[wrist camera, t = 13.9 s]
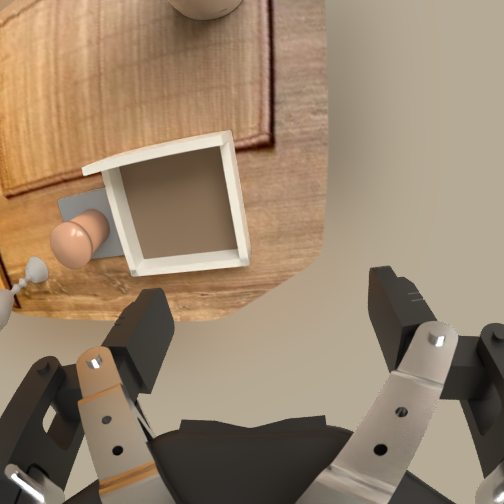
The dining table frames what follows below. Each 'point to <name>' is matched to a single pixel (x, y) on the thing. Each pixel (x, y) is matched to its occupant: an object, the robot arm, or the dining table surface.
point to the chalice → (35, 272)
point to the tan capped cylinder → (79, 238)
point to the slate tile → (100, 202)
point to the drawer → (178, 205)
